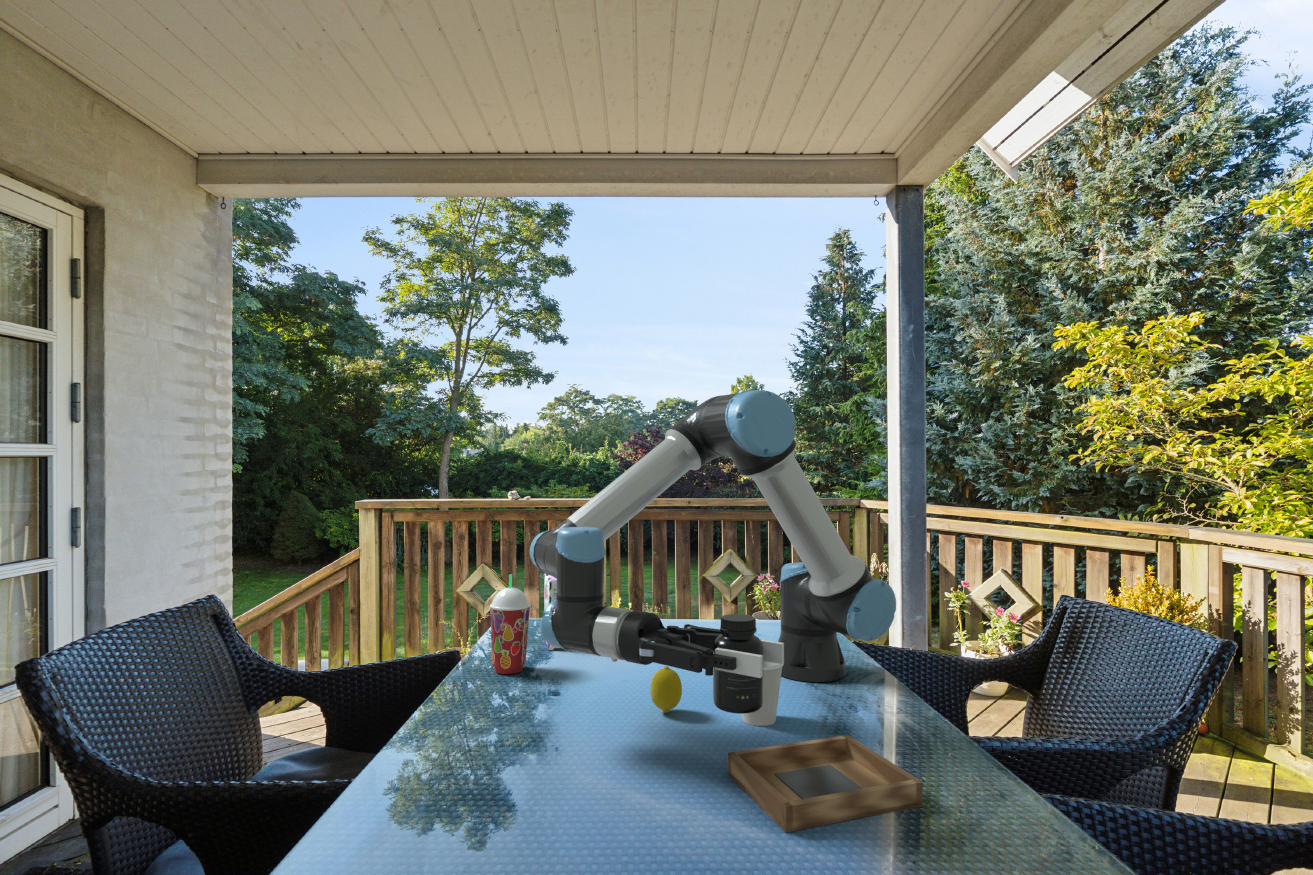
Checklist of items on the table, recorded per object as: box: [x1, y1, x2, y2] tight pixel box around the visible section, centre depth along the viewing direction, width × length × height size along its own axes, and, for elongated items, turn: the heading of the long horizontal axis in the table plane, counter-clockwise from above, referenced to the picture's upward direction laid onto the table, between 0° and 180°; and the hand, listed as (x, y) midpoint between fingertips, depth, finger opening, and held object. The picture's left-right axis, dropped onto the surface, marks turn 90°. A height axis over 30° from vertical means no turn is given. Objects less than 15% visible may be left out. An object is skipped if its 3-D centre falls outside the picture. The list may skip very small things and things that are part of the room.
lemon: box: [649, 665, 683, 714], centre depth 119 cm, size 6×6×8 cm
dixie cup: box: [741, 661, 784, 727], centre depth 116 cm, size 8×8×10 cm
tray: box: [727, 734, 924, 834], centre depth 91 cm, size 20×16×3 cm
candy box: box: [543, 573, 566, 651], centre depth 165 cm, size 14×6×16 cm, turn 14°
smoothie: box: [489, 573, 531, 675], centre depth 143 cm, size 8×8×20 cm
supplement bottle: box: [712, 613, 763, 715], centre depth 93 cm, size 7×7×12 cm
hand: (772, 659), depth 90 cm, fingers closed on supplement bottle, 7 cm apart
